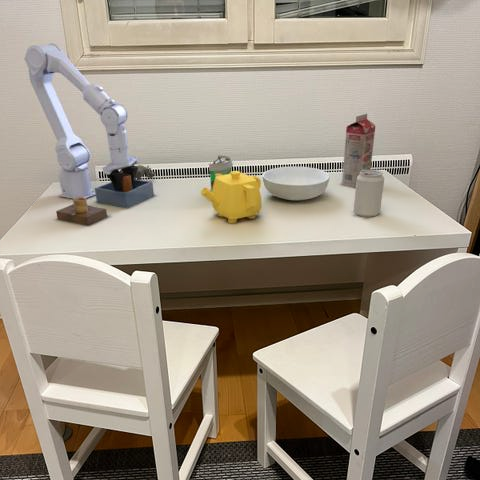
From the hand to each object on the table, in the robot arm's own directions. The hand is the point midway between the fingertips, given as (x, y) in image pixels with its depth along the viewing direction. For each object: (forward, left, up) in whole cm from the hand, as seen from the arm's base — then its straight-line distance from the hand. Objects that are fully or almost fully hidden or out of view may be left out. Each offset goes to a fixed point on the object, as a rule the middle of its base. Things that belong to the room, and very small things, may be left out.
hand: (125, 191), depth 161 cm
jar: (0, 0, -2) cm, 2 cm away
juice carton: (+61, +46, -3) cm, 77 cm away
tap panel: (0, -20, -2) cm, 20 cm away
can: (+73, +19, -3) cm, 76 cm away
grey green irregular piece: (+24, +21, -3) cm, 32 cm away
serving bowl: (+48, +25, -3) cm, 54 cm away
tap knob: (+1, -20, 0) cm, 20 cm away
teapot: (+39, 0, -3) cm, 39 cm away
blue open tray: (0, 0, -2) cm, 2 cm away
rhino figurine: (-8, +16, -3) cm, 19 cm away
